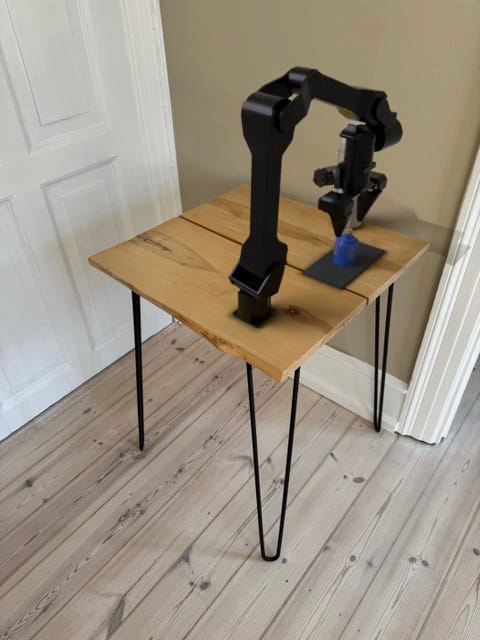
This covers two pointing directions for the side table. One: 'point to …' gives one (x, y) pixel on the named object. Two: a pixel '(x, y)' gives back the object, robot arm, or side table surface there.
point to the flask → (345, 249)
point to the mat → (341, 275)
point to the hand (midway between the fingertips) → (348, 228)
